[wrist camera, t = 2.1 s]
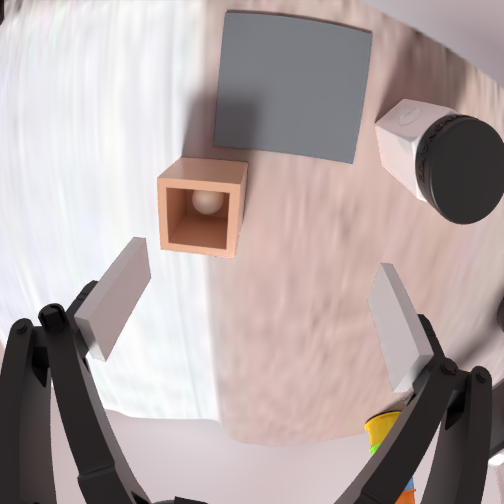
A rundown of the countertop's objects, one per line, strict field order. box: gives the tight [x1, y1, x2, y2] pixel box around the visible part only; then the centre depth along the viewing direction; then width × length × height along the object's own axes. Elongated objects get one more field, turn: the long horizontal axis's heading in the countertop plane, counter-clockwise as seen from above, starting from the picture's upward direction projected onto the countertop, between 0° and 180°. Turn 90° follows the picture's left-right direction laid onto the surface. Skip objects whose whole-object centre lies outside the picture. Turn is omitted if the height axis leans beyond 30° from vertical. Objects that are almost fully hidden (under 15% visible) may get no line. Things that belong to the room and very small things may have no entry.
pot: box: [157, 157, 248, 258], centre depth 28 cm, size 7×7×7 cm
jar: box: [375, 98, 504, 224], centre depth 21 cm, size 9×8×12 cm
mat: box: [214, 13, 373, 164], centre depth 24 cm, size 14×14×1 cm
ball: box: [192, 190, 224, 214], centre depth 29 cm, size 3×3×3 cm
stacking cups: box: [365, 411, 416, 504], centre depth 42 cm, size 10×10×35 cm
